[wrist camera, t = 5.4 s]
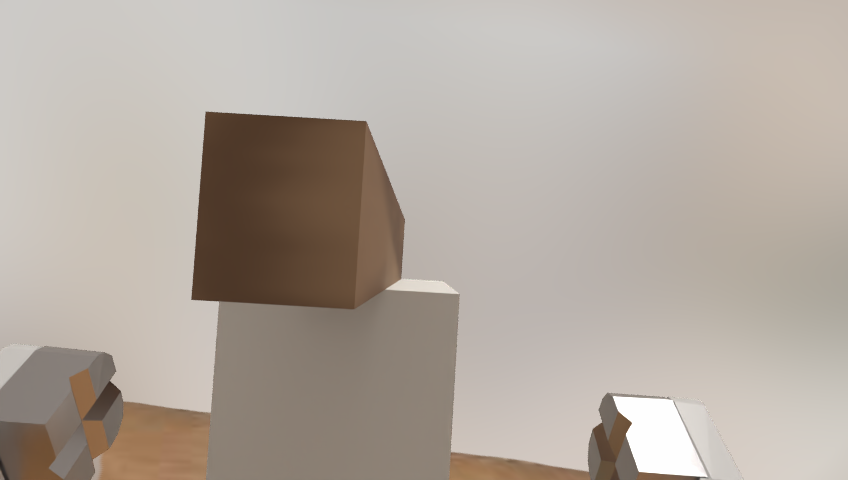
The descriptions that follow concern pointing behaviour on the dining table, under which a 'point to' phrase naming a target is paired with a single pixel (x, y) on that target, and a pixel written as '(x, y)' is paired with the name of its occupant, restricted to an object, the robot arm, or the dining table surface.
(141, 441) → the dining table surface
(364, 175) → the walnut bar
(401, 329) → the white stand
